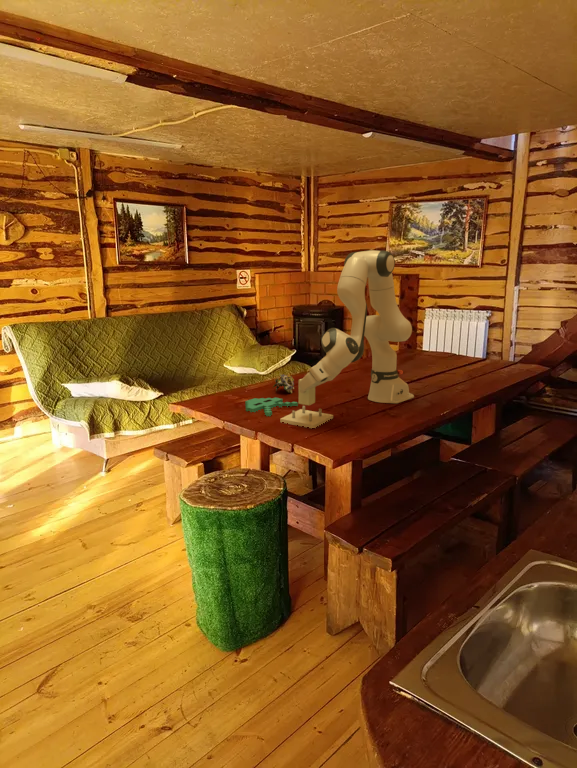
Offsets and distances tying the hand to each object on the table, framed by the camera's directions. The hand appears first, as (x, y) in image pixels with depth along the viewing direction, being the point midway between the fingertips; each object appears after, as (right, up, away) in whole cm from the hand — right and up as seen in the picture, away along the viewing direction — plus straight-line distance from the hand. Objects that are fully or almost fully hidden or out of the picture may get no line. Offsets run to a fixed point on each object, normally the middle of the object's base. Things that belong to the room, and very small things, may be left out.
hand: (305, 390), depth 226 cm
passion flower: (-10, -2, +47) cm, 47 cm away
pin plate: (+1, -12, +3) cm, 13 cm away
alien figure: (-17, -8, +22) cm, 29 cm away
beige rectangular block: (+1, -5, +1) cm, 5 cm away
